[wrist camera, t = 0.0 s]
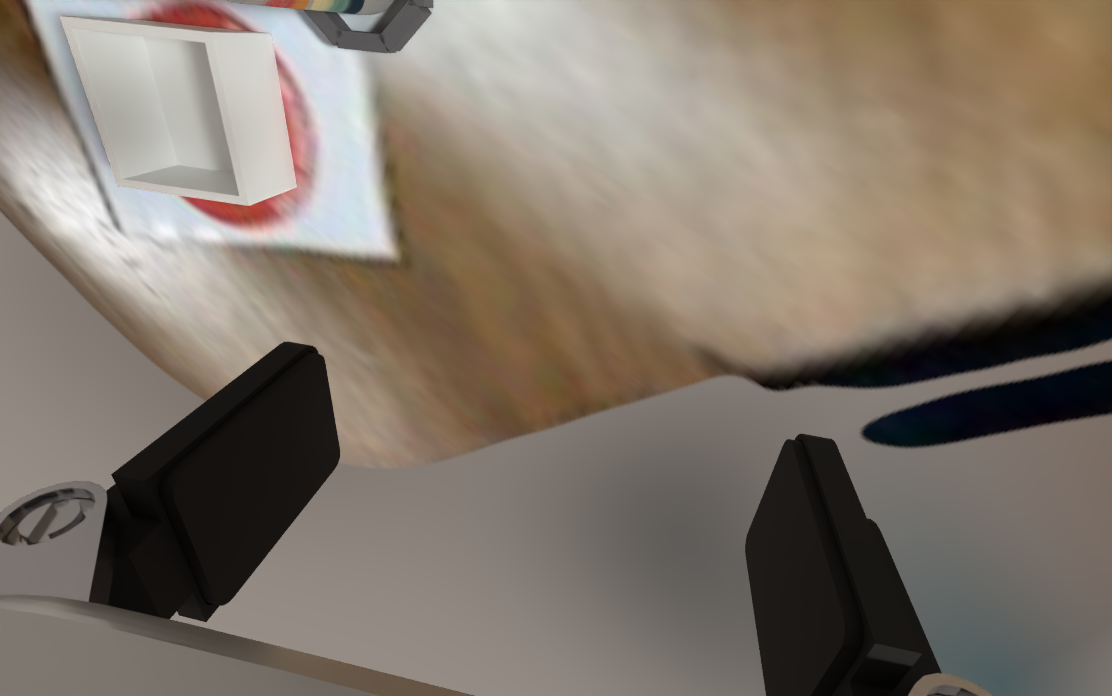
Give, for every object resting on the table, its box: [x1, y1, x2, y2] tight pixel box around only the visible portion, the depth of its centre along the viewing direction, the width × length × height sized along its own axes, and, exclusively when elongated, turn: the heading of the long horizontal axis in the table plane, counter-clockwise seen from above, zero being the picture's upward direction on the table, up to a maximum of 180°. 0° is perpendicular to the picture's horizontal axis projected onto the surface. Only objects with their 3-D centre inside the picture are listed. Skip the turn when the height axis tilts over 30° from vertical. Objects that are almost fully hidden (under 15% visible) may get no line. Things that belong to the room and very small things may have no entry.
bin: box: [60, 16, 297, 206], centre depth 44 cm, size 12×12×7 cm
